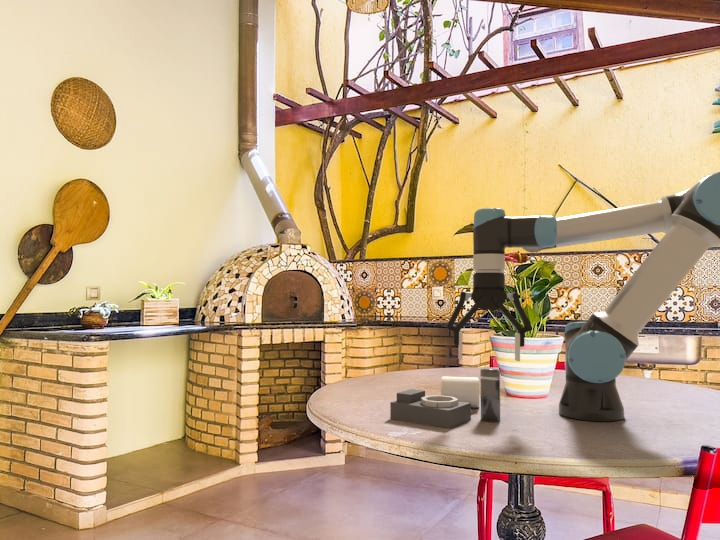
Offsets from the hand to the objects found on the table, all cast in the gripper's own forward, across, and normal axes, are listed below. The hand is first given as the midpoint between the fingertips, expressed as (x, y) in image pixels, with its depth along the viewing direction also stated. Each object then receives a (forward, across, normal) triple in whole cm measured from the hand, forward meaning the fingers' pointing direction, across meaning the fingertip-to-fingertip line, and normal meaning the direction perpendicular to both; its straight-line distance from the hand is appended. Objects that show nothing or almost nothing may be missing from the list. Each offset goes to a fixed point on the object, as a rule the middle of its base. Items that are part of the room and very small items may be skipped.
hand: (488, 359), depth 136 cm
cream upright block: (+15, +6, -17) cm, 23 cm away
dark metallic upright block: (+14, 0, 0) cm, 14 cm away
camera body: (+15, +14, +1) cm, 20 cm away
